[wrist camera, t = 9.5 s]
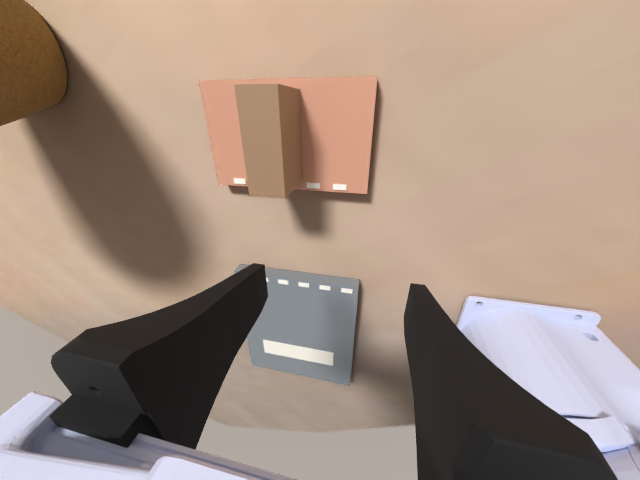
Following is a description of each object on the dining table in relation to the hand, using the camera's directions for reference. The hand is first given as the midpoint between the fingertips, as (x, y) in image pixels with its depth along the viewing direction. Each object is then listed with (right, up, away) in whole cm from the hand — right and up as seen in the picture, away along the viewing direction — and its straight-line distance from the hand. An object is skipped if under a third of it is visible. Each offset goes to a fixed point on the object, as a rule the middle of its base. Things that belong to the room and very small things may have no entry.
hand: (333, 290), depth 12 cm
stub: (-3, +10, +6) cm, 12 cm away
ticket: (-3, -7, +15) cm, 17 cm away
